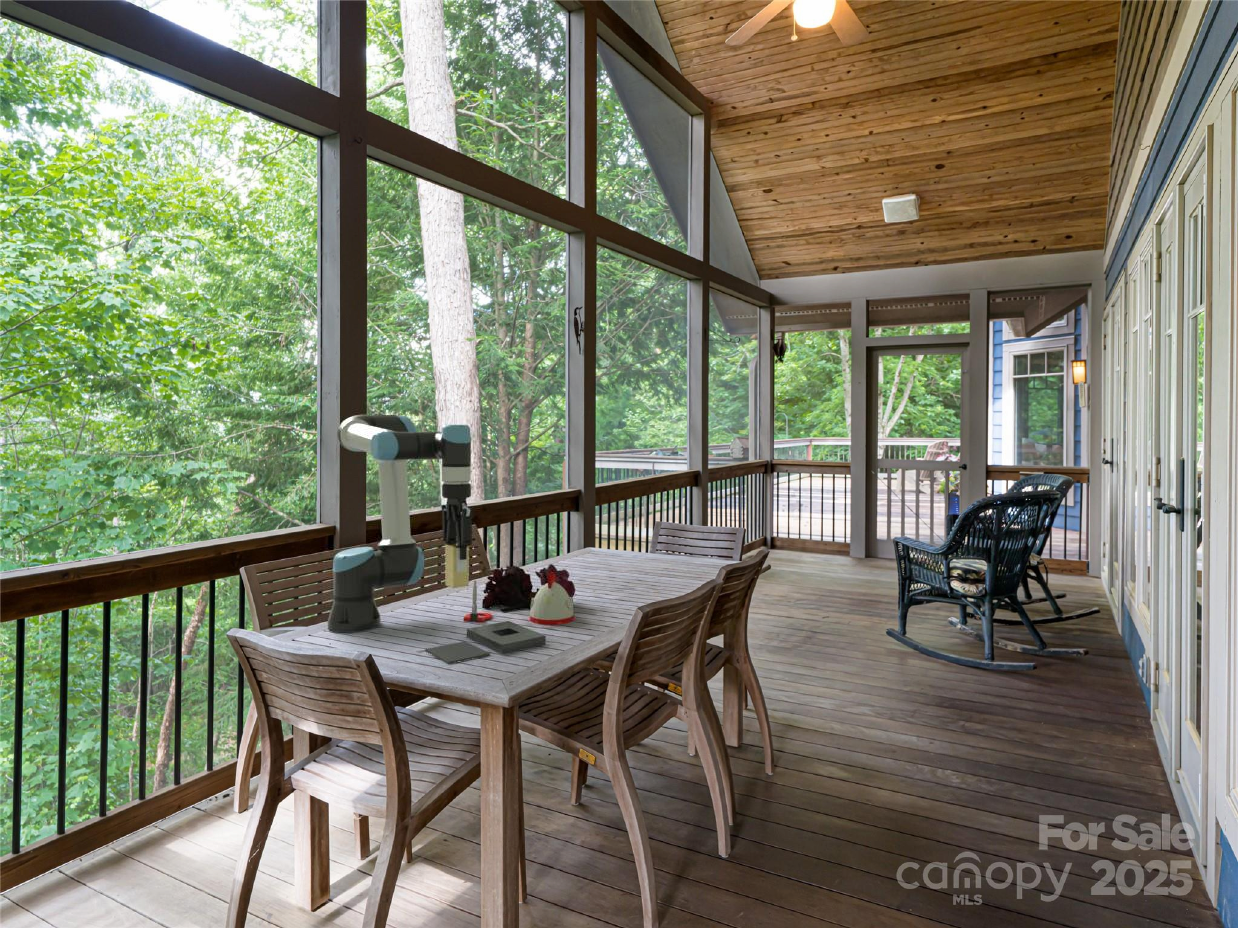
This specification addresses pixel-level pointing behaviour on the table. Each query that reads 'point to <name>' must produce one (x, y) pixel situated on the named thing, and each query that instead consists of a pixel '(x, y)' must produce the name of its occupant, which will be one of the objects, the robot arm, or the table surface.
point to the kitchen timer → (551, 604)
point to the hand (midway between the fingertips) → (456, 569)
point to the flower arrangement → (520, 587)
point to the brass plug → (451, 576)
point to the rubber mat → (457, 652)
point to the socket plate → (506, 637)
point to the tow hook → (474, 614)
